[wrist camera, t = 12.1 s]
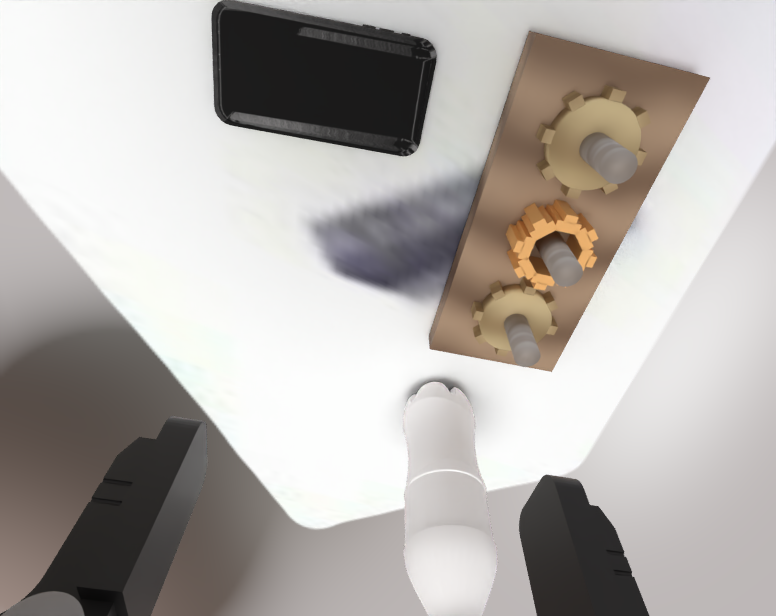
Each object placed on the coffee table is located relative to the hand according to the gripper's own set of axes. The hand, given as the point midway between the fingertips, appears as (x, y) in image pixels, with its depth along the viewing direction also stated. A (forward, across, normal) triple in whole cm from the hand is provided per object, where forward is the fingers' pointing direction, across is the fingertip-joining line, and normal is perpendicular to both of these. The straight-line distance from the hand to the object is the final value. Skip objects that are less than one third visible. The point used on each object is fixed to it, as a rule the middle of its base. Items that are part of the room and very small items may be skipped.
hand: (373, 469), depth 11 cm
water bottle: (+29, -10, +25) cm, 40 cm away
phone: (+30, +6, -3) cm, 31 cm away
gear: (+27, -13, +4) cm, 31 cm away
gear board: (+29, -13, +4) cm, 32 cm away
